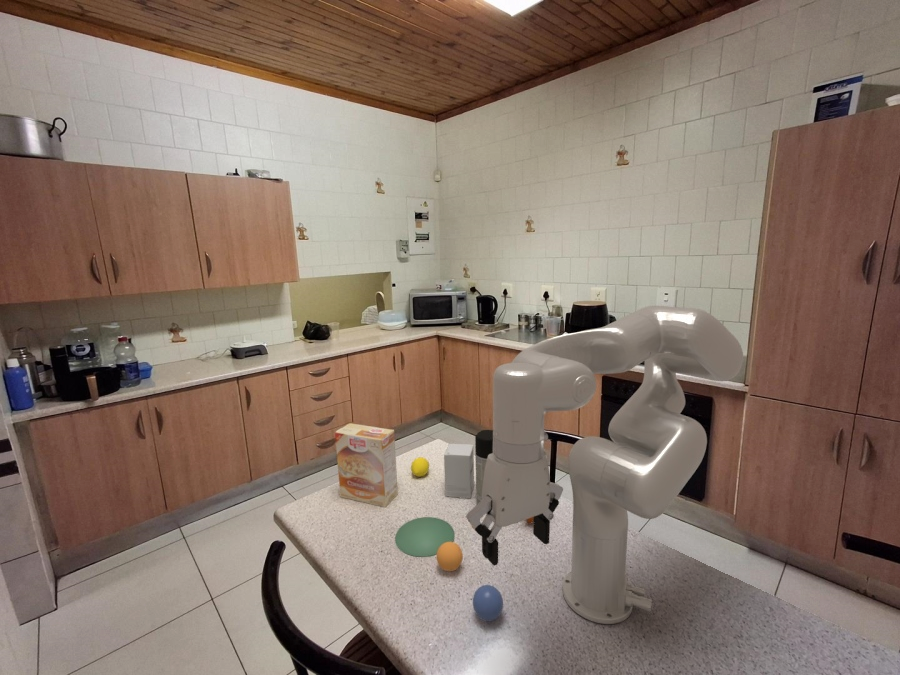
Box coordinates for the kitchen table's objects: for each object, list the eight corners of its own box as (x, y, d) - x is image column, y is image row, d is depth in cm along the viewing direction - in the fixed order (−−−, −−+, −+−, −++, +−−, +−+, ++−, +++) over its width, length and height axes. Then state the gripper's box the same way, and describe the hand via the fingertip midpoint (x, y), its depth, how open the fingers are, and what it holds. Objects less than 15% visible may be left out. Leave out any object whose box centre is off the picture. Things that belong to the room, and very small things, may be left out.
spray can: (505, 502, 109) (505, 432, 106) (494, 515, 104) (493, 441, 100) (483, 495, 113) (482, 427, 109) (471, 507, 107) (469, 436, 104)
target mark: (464, 527, 100) (464, 526, 100) (436, 564, 88) (436, 563, 88) (415, 512, 106) (415, 511, 106) (383, 545, 94) (383, 544, 94)
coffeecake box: (339, 497, 114) (333, 431, 111) (354, 484, 121) (349, 422, 117) (385, 508, 108) (381, 439, 105) (398, 494, 115) (395, 428, 111)
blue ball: (507, 609, 76) (507, 583, 75) (496, 633, 71) (496, 606, 70) (480, 599, 78) (479, 574, 77) (468, 621, 73) (467, 595, 72)
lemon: (424, 482, 121) (422, 467, 120) (408, 479, 123) (406, 464, 122) (433, 468, 128) (431, 453, 126) (417, 466, 130) (416, 451, 128)
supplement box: (471, 499, 111) (470, 456, 109) (444, 496, 113) (443, 454, 111) (474, 484, 118) (474, 444, 116) (449, 482, 120) (448, 442, 118)
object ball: (467, 563, 88) (466, 540, 87) (455, 581, 83) (454, 557, 82) (444, 555, 90) (443, 533, 89) (432, 572, 85) (431, 548, 84)
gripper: (546, 426, 68) (544, 520, 71) (455, 449, 60) (456, 552, 63) (579, 443, 62) (575, 545, 64) (481, 471, 54) (482, 585, 57)
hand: (516, 548), depth 64 cm, fingers open, 9 cm apart
